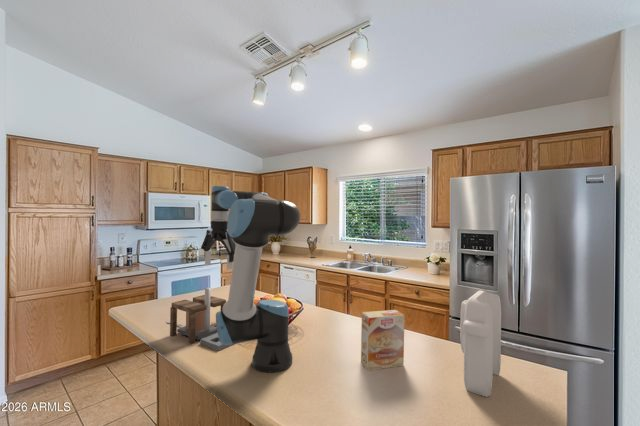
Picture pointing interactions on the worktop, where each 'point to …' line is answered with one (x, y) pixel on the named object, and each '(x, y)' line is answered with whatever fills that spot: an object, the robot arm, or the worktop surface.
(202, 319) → the white lever handle
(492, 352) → the white upright slab
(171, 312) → the wooden rack
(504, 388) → the worktop surface
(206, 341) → the pit plate
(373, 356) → the coffeecake box
